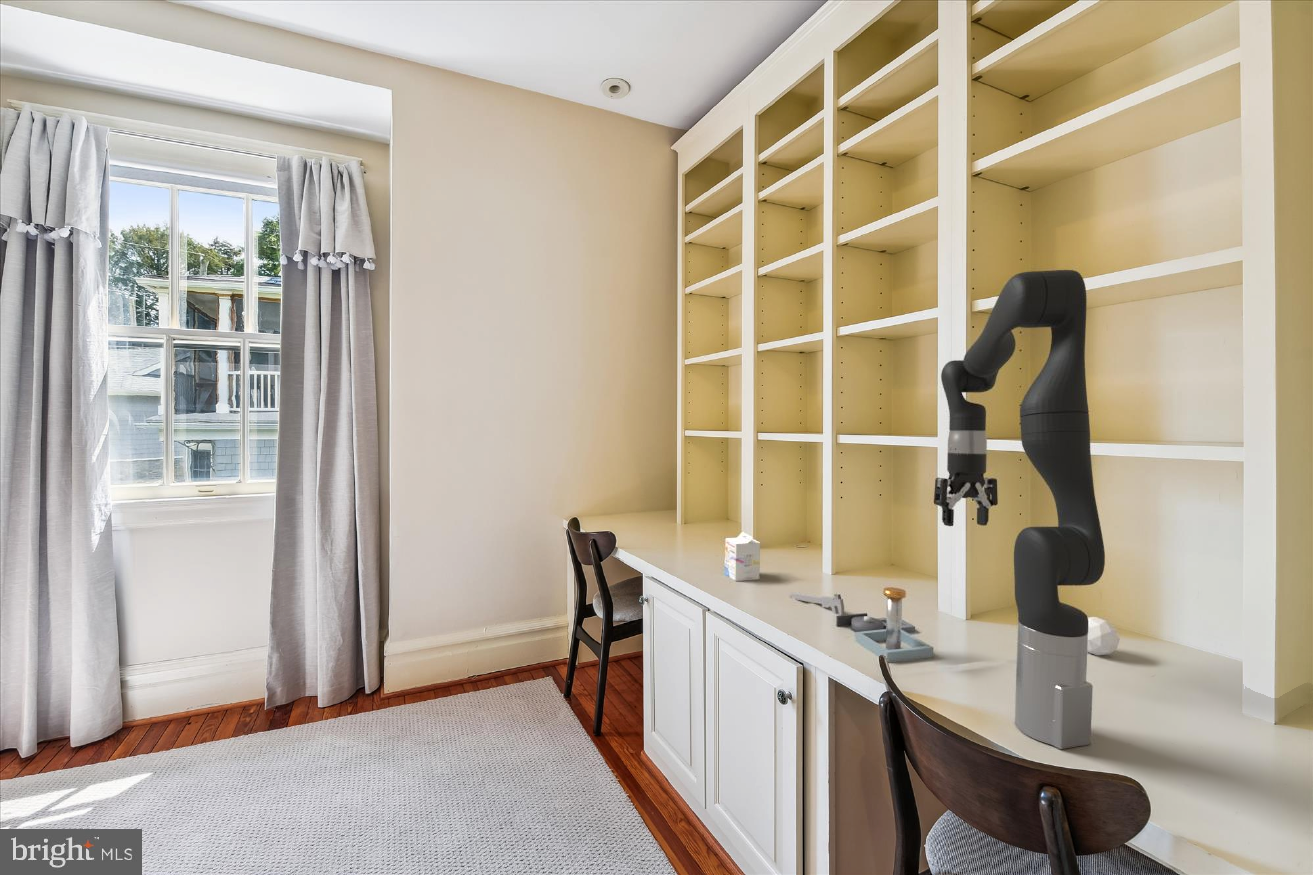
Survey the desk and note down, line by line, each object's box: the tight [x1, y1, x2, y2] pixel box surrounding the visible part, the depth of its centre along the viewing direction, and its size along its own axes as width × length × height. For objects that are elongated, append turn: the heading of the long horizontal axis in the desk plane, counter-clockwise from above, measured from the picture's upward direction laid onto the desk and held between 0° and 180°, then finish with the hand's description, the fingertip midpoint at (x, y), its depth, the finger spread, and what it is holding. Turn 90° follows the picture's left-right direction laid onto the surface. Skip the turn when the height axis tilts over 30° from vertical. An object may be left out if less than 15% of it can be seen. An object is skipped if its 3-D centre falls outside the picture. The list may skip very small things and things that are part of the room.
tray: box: [854, 629, 934, 663], centre depth 121 cm, size 11×11×3 cm
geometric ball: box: [1087, 616, 1120, 657], centre depth 122 cm, size 8×8×8 cm
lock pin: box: [882, 586, 907, 650], centre depth 121 cm, size 4×4×13 cm
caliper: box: [788, 592, 845, 616], centre depth 150 cm, size 20×1×6 cm, turn 26°
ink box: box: [724, 531, 761, 582], centre depth 178 cm, size 9×8×13 cm
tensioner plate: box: [835, 612, 920, 635], centre depth 132 cm, size 9×16×4 cm, turn 104°
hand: (965, 525), depth 124 cm, fingers open, 8 cm apart
